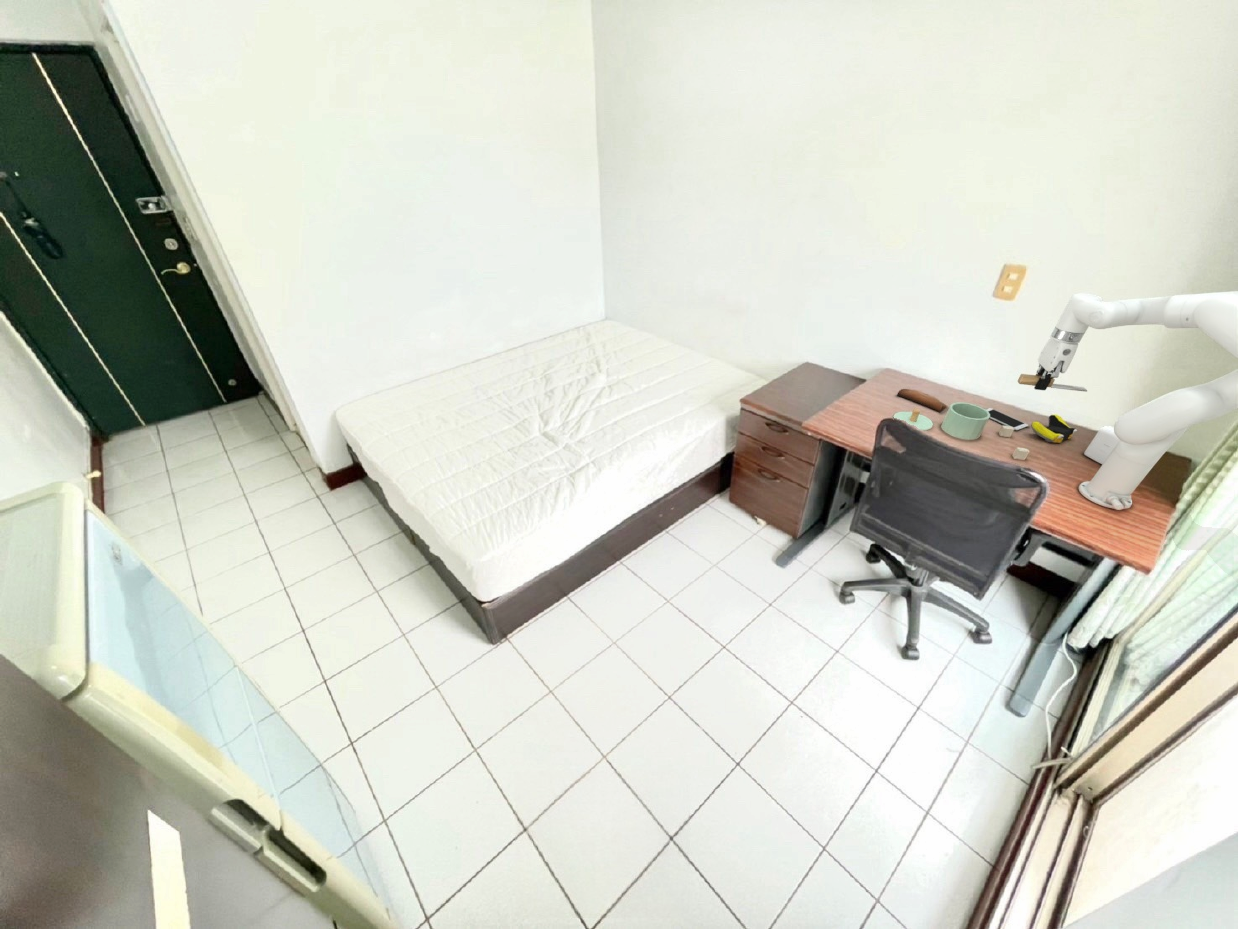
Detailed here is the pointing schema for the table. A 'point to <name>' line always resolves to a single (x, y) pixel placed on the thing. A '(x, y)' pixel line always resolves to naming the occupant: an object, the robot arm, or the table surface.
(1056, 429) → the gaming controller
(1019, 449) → the pair of cream blocks
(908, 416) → the lid
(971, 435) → the pot
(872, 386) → the table surface
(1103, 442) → the photo printer
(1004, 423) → the smartphone
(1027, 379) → the knife
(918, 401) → the sunglasses case
